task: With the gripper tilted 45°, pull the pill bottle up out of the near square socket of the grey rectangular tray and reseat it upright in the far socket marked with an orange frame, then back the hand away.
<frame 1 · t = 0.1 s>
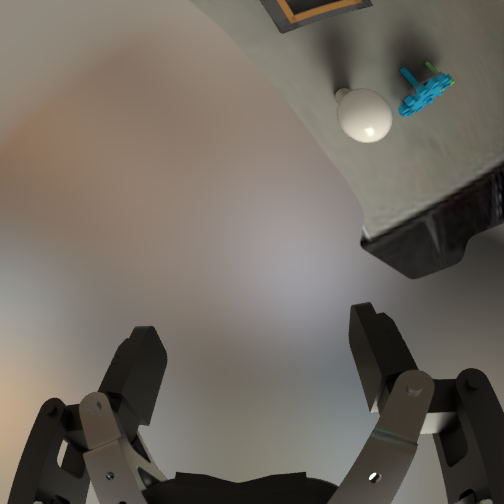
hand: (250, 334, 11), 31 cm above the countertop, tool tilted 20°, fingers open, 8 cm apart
lightbulb: (342, 95, 32), on the countertop
blue branched piece: (413, 85, 29), on the countertop
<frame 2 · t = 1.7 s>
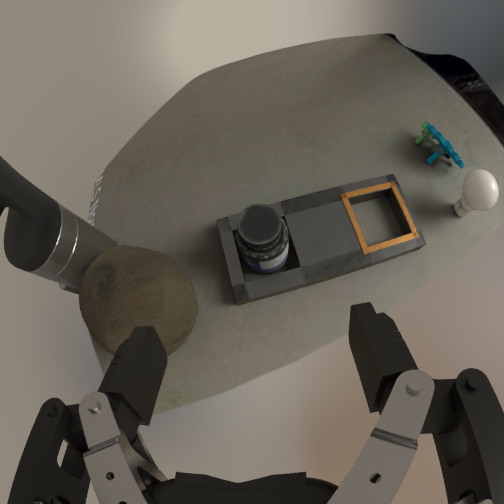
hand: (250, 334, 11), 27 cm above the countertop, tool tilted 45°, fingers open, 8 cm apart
pill bottle: (266, 254, 40), resting in grey rectangular tray
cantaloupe: (164, 310, 39), on the countertop
lightbulb: (457, 211, 38), on the countertop
grey rectangular tray: (324, 237, 39), on the countertop
blue branched piece: (435, 156, 41), on the countertop
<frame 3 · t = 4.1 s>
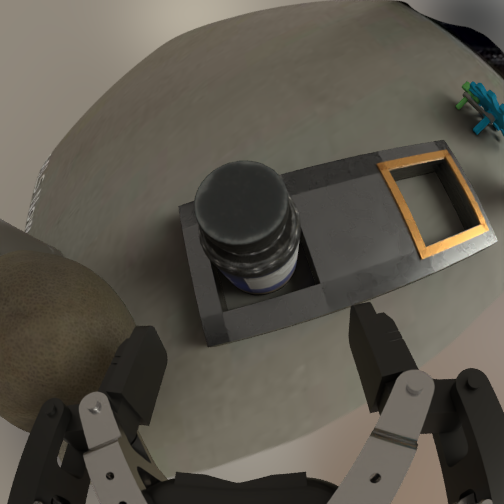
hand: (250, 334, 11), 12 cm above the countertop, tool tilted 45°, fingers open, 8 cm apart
pill bottle: (261, 261, 24), resting in grey rectangular tray
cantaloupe: (106, 348, 23), on the countertop
grey rectangular tray: (353, 232, 23), on the countertop
blue branched piece: (480, 126, 26), on the countertop
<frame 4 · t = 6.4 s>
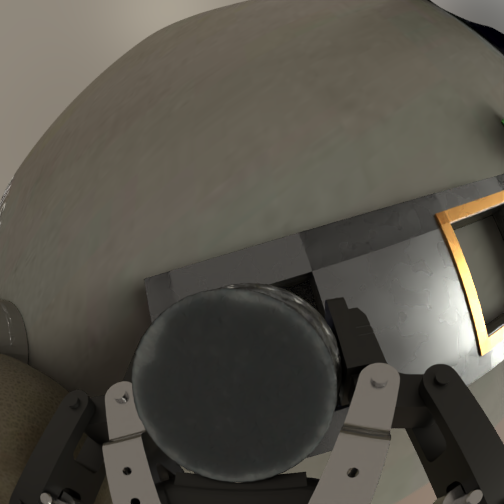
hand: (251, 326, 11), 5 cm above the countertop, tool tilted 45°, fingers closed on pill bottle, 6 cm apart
pill bottle: (266, 357, 16), resting in grey rectangular tray, touching gripper
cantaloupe: (77, 435, 15), on the countertop
grey rectangular tray: (397, 313, 15), on the countertop
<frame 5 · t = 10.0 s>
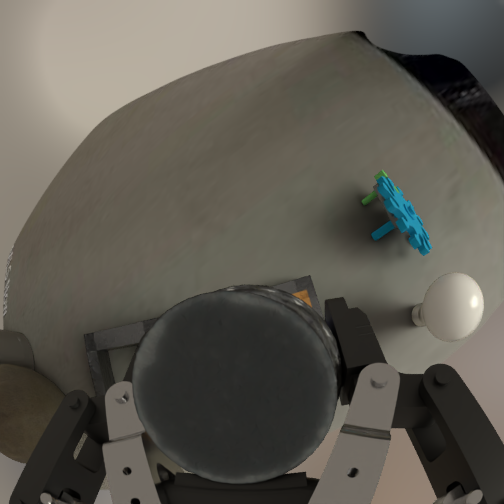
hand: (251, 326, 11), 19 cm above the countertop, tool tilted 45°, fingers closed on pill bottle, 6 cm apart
pill bottle: (266, 358, 16), point 13 cm above the countertop, touching gripper
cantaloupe: (60, 409, 29), on the countertop
lightbulb: (418, 315, 28), on the countertop
grey rectangular tray: (200, 364, 29), on the countertop
blue branched piece: (392, 224, 31), on the countertop
when the fingers open (6 cm above the countertop, at t = 13.5 s): pill bottle stays where it is, resting in grey rectangular tray.
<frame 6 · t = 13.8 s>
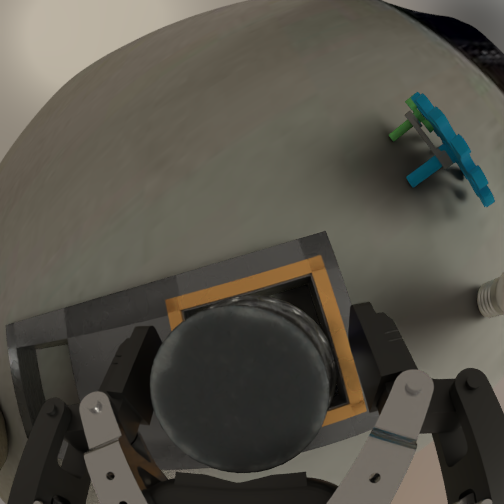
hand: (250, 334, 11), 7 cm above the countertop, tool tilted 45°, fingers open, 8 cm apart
pill bottle: (266, 360, 17), resting in grey rectangular tray
lightbulb: (482, 301, 15), on the countertop
grey rectangular tray: (147, 381, 17), on the countertop
blue branched piece: (432, 170, 19), on the countertop
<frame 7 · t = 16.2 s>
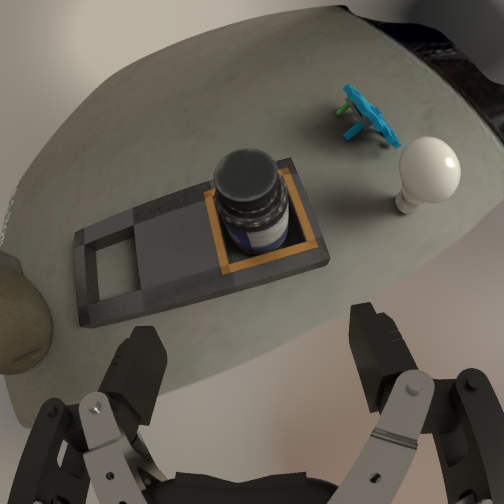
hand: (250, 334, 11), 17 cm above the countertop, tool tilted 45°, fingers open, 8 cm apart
pill bottle: (260, 230, 30), resting in grey rectangular tray
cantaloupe: (39, 326, 30), on the countertop
lightbulb: (403, 206, 29), on the countertop
grey rectangular tray: (185, 250, 30), on the countertop
blue branched piece: (365, 132, 33), on the countertop
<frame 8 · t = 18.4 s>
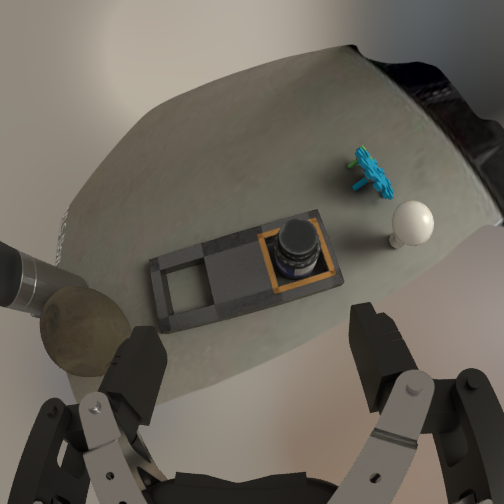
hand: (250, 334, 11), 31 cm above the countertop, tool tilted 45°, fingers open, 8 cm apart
pill bottle: (295, 261, 43), resting in grey rectangular tray
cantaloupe: (112, 334, 43), on the countertop
lightbulb: (394, 242, 42), on the countertop
grey rectangular tray: (242, 275, 43), on the countertop
blue branched piece: (368, 182, 46), on the countertop
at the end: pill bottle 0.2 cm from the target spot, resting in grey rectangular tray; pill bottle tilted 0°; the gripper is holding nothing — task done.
